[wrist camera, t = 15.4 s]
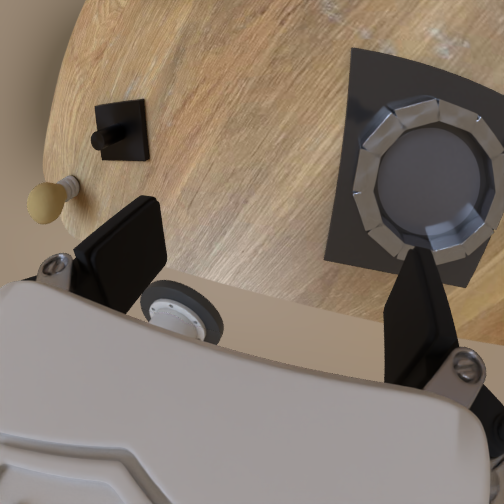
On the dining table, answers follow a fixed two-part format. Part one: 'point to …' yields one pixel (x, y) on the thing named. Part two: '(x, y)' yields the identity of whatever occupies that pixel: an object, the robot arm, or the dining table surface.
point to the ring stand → (121, 131)
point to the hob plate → (411, 162)
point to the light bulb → (51, 199)
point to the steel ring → (379, 141)
